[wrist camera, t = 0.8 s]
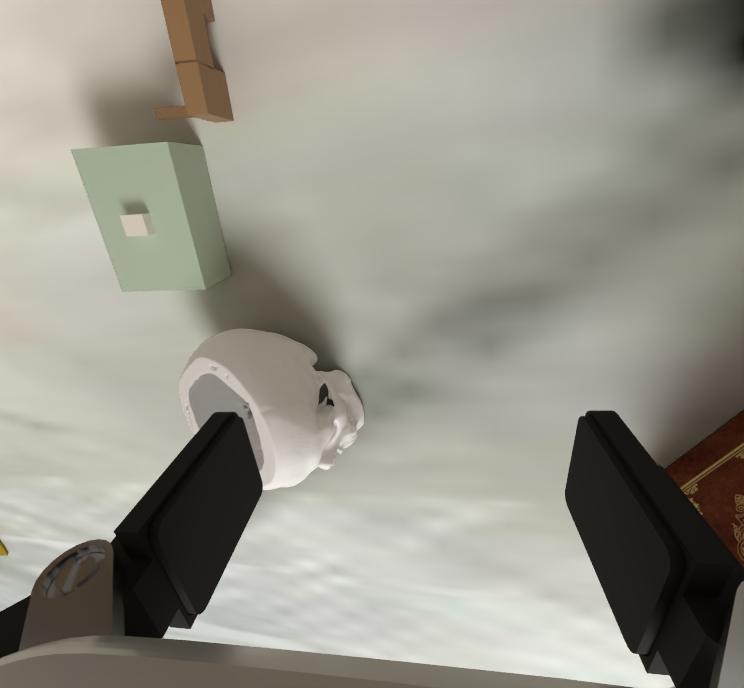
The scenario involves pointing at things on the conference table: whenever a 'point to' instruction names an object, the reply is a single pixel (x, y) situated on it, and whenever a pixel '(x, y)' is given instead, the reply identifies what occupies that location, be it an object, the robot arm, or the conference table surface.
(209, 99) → the wooden staple shape
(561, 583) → the conference table surface
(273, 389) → the skull planter
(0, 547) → the olive boxy piece
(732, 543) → the decorative book
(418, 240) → the conference table surface
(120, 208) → the pale green box
